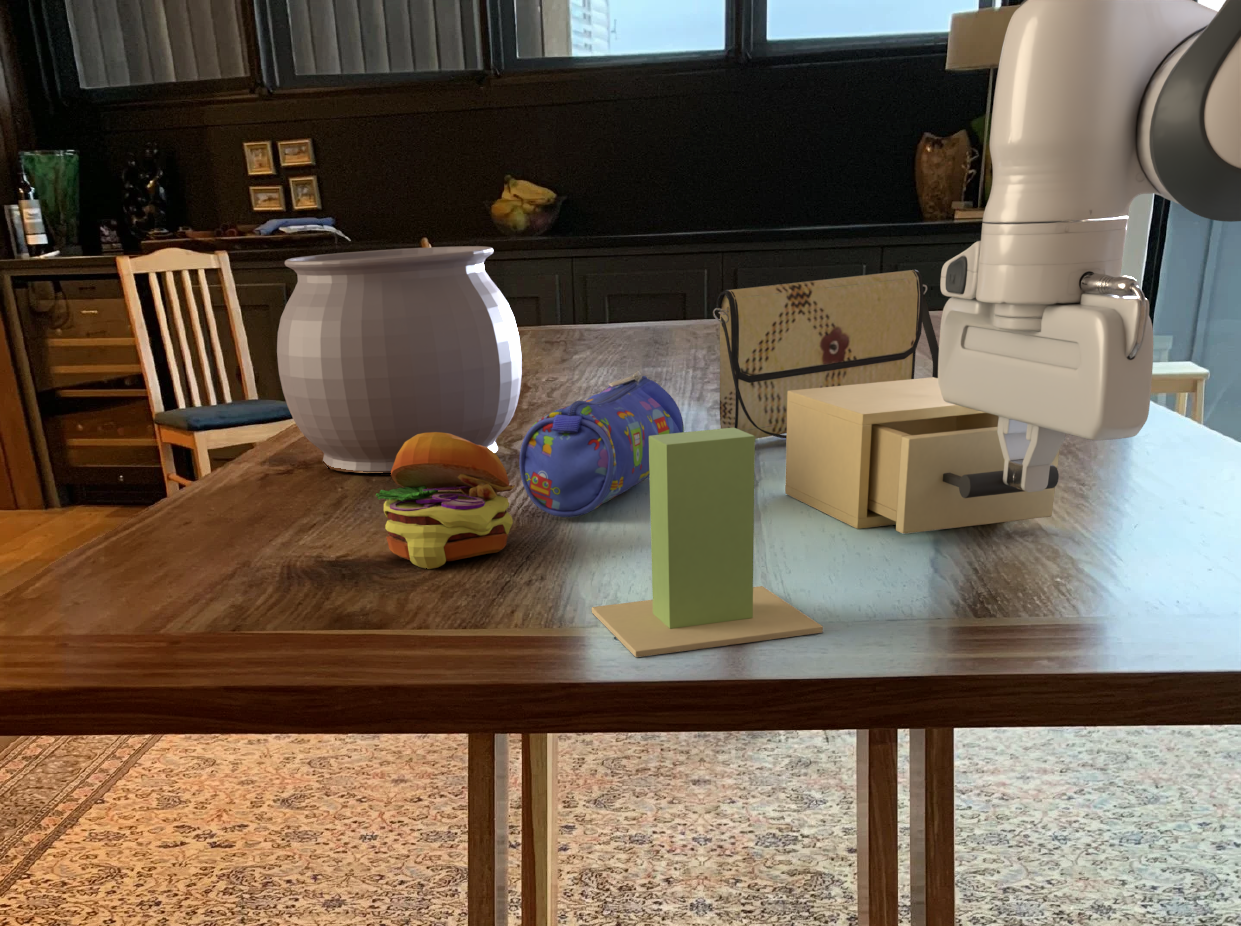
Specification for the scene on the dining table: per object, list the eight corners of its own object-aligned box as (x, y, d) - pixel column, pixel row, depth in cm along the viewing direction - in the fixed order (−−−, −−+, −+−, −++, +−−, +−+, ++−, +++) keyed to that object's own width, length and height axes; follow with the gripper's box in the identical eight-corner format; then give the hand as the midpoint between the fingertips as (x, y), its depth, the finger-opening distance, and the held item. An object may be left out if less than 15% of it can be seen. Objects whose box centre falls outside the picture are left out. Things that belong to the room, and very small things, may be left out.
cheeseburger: (359, 569, 99) (353, 429, 96) (414, 567, 109) (410, 440, 106) (485, 569, 96) (483, 426, 94) (530, 567, 106) (528, 438, 104)
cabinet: (1012, 511, 105) (1024, 398, 101) (857, 529, 103) (862, 414, 99) (925, 478, 118) (933, 377, 114) (784, 493, 115) (787, 390, 111)
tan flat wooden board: (762, 591, 89) (762, 585, 89) (823, 632, 80) (823, 626, 80) (591, 612, 86) (591, 606, 86) (635, 657, 78) (635, 651, 78)
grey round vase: (499, 481, 126) (481, 254, 117) (255, 485, 131) (220, 267, 122) (548, 435, 148) (536, 241, 139) (338, 440, 152) (313, 252, 143)
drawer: (1085, 528, 96) (1098, 431, 93) (930, 547, 93) (938, 448, 90) (962, 484, 111) (969, 399, 108) (826, 499, 109) (830, 413, 105)
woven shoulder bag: (748, 454, 132) (750, 292, 125) (705, 446, 137) (704, 290, 130) (954, 416, 146) (966, 268, 139) (908, 410, 151) (917, 267, 144)
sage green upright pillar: (733, 603, 85) (734, 427, 80) (752, 618, 82) (755, 435, 77) (652, 614, 84) (648, 435, 79) (669, 629, 81) (666, 444, 76)
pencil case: (605, 470, 129) (602, 366, 124) (690, 472, 126) (689, 366, 121) (517, 522, 111) (509, 403, 106) (613, 526, 108) (608, 403, 103)
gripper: (1197, 274, 77) (1158, 513, 83) (1008, 260, 94) (989, 459, 101) (1102, 281, 75) (1070, 524, 82) (928, 266, 93) (914, 467, 99)
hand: (1024, 488), depth 91 cm, fingers closed
